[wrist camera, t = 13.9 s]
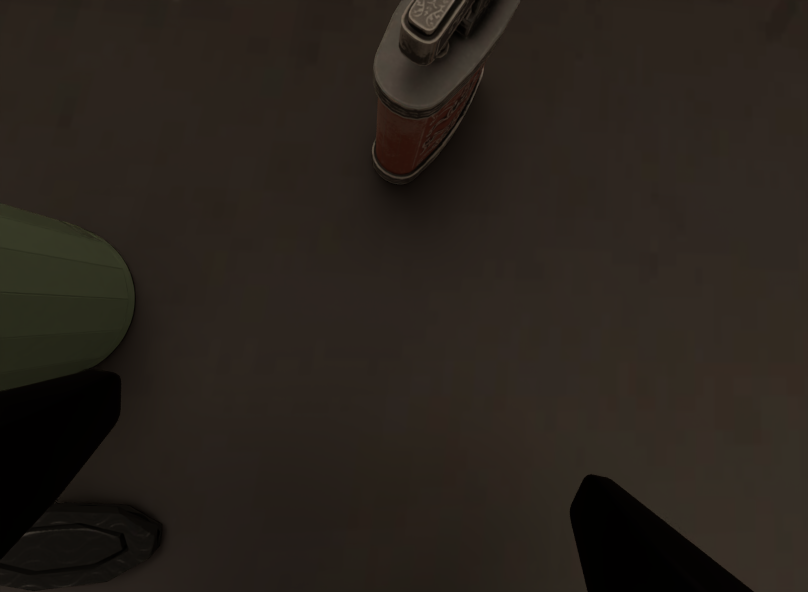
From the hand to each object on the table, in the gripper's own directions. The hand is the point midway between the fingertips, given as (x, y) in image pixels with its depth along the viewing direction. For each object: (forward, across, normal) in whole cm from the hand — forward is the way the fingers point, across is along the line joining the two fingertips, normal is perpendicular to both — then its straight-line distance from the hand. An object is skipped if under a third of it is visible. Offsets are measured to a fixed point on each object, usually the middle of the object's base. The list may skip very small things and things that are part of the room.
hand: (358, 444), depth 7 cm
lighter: (+16, 0, -8) cm, 18 cm away
